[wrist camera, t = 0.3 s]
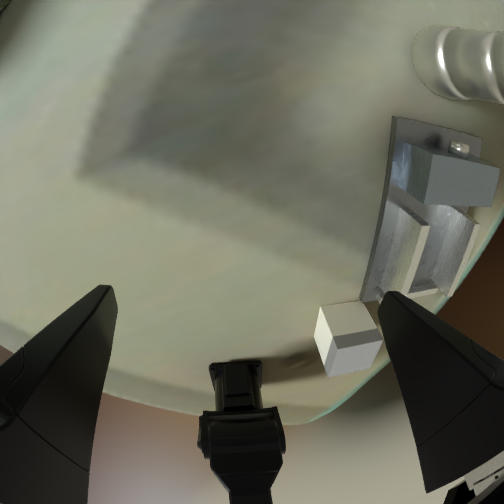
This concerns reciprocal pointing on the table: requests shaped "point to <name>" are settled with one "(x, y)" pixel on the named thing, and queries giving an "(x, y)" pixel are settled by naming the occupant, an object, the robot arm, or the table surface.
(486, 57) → the plastic bottle
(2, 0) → the rose bouquet
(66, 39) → the table surface
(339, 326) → the grey rectangular block
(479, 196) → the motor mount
